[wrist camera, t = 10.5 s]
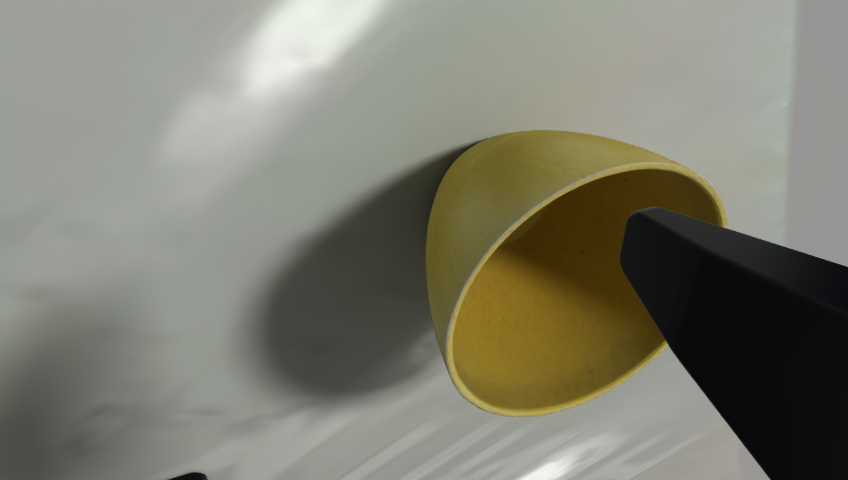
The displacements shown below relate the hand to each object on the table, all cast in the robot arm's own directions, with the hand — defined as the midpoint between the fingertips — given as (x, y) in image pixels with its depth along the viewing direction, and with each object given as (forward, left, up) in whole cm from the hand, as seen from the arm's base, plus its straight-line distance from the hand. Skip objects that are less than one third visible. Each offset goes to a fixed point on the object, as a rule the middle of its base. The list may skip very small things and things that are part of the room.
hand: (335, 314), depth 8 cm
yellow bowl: (-8, -9, -13) cm, 18 cm away
